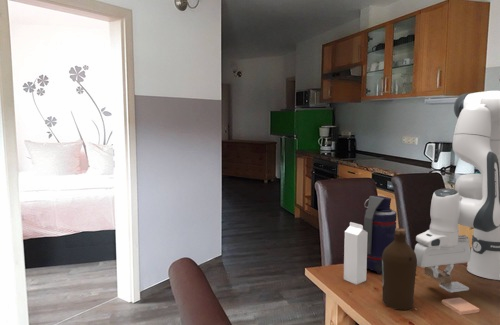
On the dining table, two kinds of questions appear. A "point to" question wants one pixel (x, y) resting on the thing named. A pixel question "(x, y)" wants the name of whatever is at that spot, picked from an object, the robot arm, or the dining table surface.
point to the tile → (460, 306)
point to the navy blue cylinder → (378, 229)
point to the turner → (446, 281)
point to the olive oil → (399, 273)
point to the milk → (355, 254)
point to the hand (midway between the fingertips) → (441, 276)
